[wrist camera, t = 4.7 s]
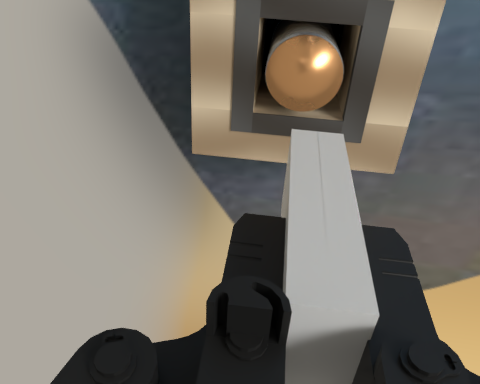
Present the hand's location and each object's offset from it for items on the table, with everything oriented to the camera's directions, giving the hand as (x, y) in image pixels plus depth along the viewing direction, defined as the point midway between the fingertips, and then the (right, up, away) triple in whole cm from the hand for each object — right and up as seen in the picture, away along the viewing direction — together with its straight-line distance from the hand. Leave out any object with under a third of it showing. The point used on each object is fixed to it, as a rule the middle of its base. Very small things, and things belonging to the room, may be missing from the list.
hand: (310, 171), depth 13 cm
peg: (+2, +9, +14) cm, 17 cm away
